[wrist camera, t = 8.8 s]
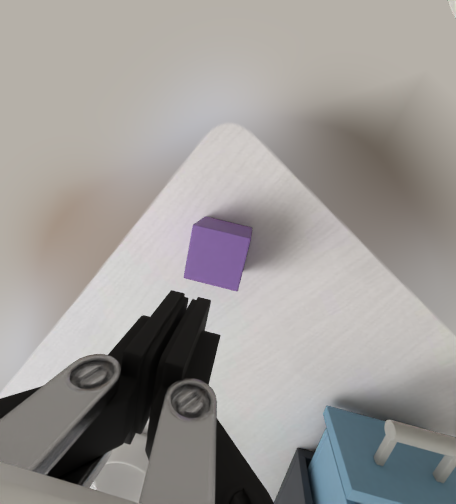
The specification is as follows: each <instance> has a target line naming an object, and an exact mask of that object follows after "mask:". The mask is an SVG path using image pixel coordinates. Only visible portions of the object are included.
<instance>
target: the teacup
mask: <svg viewBox="0 0 456 504" xmlns="http://www.w3.org/2000/svg"><path fill="white" fill-rule="evenodd" d="M148 424H149V419H148V421H147V424H146V426H145V428H144V430H143V432H142V434H137V433H136V434H135V436H134V438H133V440H132V442H131V445H129V444H126V443H123V445H121V446H119V447H117V448H115V449H113V450H112V453H111V456H110V457H109V459H108V461H107V463H106V464H105V466H104V467H103V469H102V470H101V471H100V473H99V474H98V476H97V477H96V479H95V480H94V486H95V488H96V490H97V491H100V492H104V493H107V494H110V495H114V496H117V497H120V498H124V499H127V500H130V501H134V502H137V503H139V499H140V495H141V491H142V487H143V483H144V479H145V475H146V471H147V467H148V463H149V460H148V457H147V455H146V452H145V447H146V441H147V431H148Z"/></svg>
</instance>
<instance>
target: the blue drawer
mask: <svg viewBox="0 0 456 504" xmlns="http://www.w3.org/2000/svg"><path fill="white" fill-rule="evenodd" d="M323 415H324V419H325V423H326V426H327V428H326V429H325V431H324V433H323V436H322V438H321V440H320V442H319V444H318V447H317V449H316V451H315V453H314V455H313V458H312V460H311V462H310V464H309V466H308V468H307V471H308V477H309V483H310V489H311V495H312V501H313V504H456V437H452V436H448V435H445V434H441V433H437V432H434V431H430V430H426V429H423V428H419V427H415V426H412V425H408V424H404V423H401V422H397V421H393V420H386V421H382V420H378V419H375V418H371V417H367V416H364V415H360V414H356V413H353V412H349V411H345V410H342V409H338V408H334V407H331V406H326V408H325V411H324V413H323Z"/></svg>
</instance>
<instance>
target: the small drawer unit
mask: <svg viewBox="0 0 456 504" xmlns="http://www.w3.org/2000/svg"><path fill="white" fill-rule="evenodd" d="M313 455H314V452H310V451H307V450H303V449H300V448H297V450H296V452H295V454H294V457H293V459H292V462H291V464H290V466H289V469H288V471H287V473H286V476H285V478H284V480H283V483H282V485H281V487H280V490H279V492H278V495H277V497H276V499H275V502H274V504H313V501H312V495H311V489H310V483H309V477H308V471H307V468H308V466H309V464H310V462H311V460H312V458H313Z"/></svg>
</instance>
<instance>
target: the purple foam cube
mask: <svg viewBox="0 0 456 504" xmlns="http://www.w3.org/2000/svg"><path fill="white" fill-rule="evenodd" d="M251 235H252V227H248V226H243V225H239V224H235V223H231V222H227V221H223V220H218V219H214V218H210V217H204V218H202V219H201V220H199V221H198V222H197V223H195V224H194V225H193V228H192V234H191V239H190V245H189V250H188V256H187V262H186V267H185V273H184V278H186V279H190V280H194V281H198V282H202V283H206V284H210V285H214V286H218V287H222V288H226V289H230V290H233V291H238V288H239V284H240V280H241V276H242V272H243V268H244V264H245V260H246V257H247V253H248V249H249V245H250V241H251Z"/></svg>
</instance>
